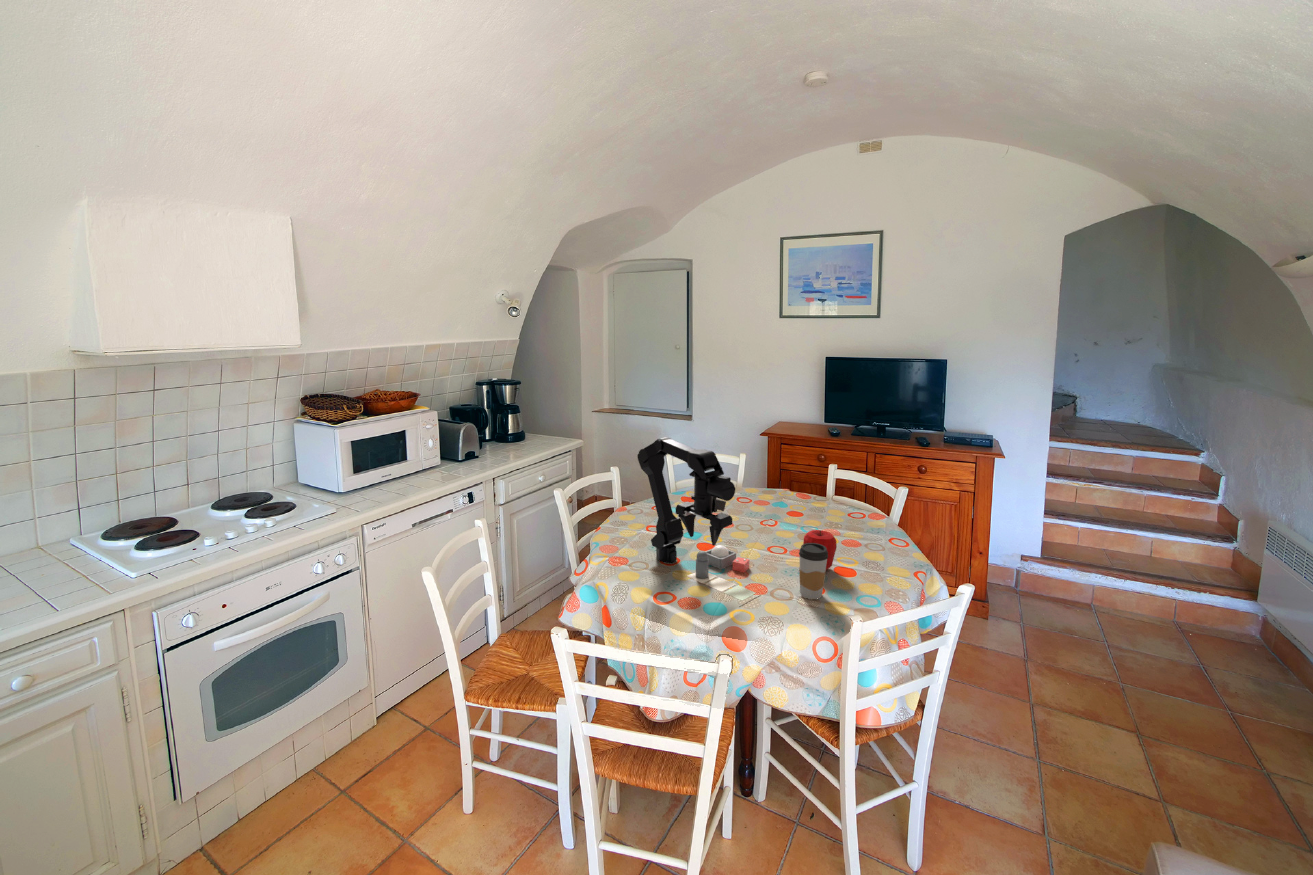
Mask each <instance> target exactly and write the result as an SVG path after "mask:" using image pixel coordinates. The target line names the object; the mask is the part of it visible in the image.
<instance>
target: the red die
mask: <svg viewBox="0 0 1313 875" xmlns="http://www.w3.org/2000/svg"><path fill="white" fill-rule="evenodd" d="M749 568H750V559H748V558H744V557H739V556H736V559H735V560H734V561H733V564H732V571H735V572H736V571H737V572H741V573H745V572H747V570H749Z"/></svg>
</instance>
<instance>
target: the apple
mask: <svg viewBox="0 0 1313 875" xmlns="http://www.w3.org/2000/svg"><path fill="white" fill-rule="evenodd" d="M805 543H817V544H821V545H823V546H825V547H826V548H827V551H828V558H827V564H826V571H827V570H829V569H830V568H831V567H832V566H833V563H834V559H835V555H836V551H837V545H838V544H837V539H836V537H835V536H834V535H833V533H831V532H829V531H827V530H822V529H812V530H809V531H808V532H806V533H805V535H804V536H803V544H805ZM803 544H802V545H803Z"/></svg>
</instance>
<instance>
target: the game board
mask: <svg viewBox="0 0 1313 875" xmlns="http://www.w3.org/2000/svg"><path fill="white" fill-rule="evenodd" d="M686 577H688V578H690V579H692V580H694V581H696V582H699V583H701V584H704V585H706V586H707V587H710V588H712V589H714V590H717V591H719V592H721V593H724V594H725V595H727V596H730V597H732V598H734V599H737V600H739V601H744V600H746V599H748V598H751V596H753V595H755V594H756V592H754V591H753V590H750V589H748V588H746V587H744V586H742V585H739V584H738V585H737V584H736V583H735V582H732V581H729V580H727V579H725V578H722V577H719V576H717V575H715V574H712V573H710V572H709V574H708V578H706V579H699V578H697V577H696V571H695V572H693V573H691V574H688V575H686ZM761 596H762V595H761V594H760V595H758V596H756V597H754V598H752V599H750V600H749V601H747V602H745V603H743V604H741V605H740V606H739V608H741V607H742V606H745V605H746V604H749V603H751V602H752V601H753V600H756V599H757V598H759V597H761Z"/></svg>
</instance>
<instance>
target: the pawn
mask: <svg viewBox="0 0 1313 875" xmlns="http://www.w3.org/2000/svg"><path fill="white" fill-rule="evenodd" d="M705 551H706V550H705ZM705 551H704V550H701V551H699V552H697V554H696V559H695V572H696V577H697V578H699V579H706V578H708V574H709V573H710V570H709V569H710V567H709V566H710V565H709V559H708V554H707V553H706V552H705Z"/></svg>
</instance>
